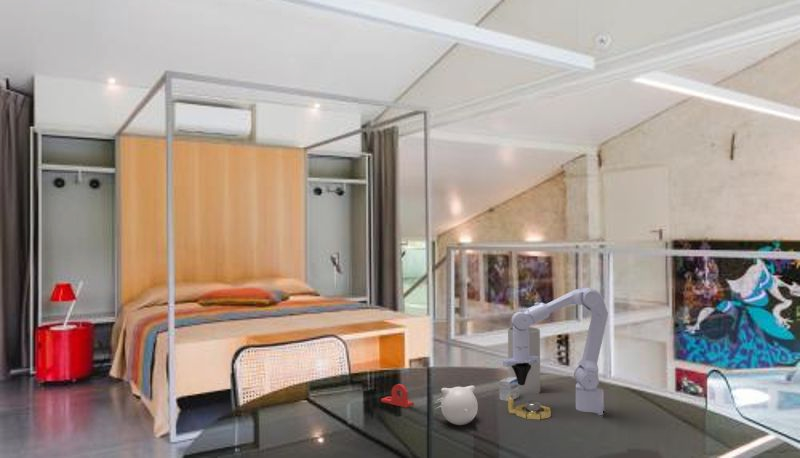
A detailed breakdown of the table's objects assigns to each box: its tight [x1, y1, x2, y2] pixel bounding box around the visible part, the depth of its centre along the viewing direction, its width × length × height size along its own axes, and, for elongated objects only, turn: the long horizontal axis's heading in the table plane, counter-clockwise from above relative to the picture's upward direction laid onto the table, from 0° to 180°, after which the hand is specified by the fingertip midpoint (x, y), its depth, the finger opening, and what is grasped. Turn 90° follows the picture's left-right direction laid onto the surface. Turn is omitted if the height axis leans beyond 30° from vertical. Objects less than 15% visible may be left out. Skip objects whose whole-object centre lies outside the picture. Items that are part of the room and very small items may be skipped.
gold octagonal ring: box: [507, 397, 552, 420], centre depth 193 cm, size 14×12×5 cm
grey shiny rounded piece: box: [525, 400, 541, 413], centre depth 193 cm, size 18×18×5 cm
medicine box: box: [498, 376, 520, 402], centre depth 211 cm, size 8×4×9 cm, turn 143°
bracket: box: [380, 383, 414, 408], centre depth 211 cm, size 12×4×8 cm, turn 51°
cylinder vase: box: [507, 326, 541, 395], centre depth 225 cm, size 12×12×25 cm
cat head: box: [435, 385, 479, 426], centre depth 187 cm, size 15×13×12 cm
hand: (521, 384), depth 199 cm, fingers closed
